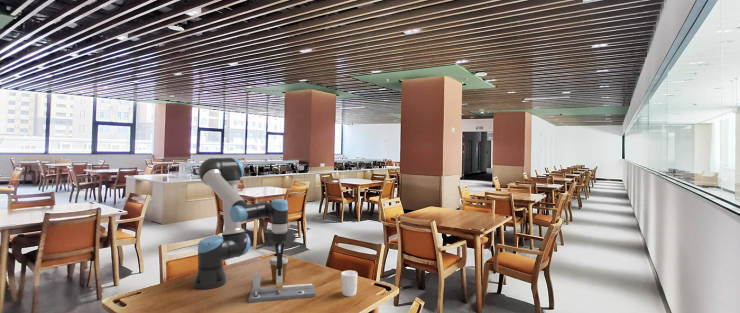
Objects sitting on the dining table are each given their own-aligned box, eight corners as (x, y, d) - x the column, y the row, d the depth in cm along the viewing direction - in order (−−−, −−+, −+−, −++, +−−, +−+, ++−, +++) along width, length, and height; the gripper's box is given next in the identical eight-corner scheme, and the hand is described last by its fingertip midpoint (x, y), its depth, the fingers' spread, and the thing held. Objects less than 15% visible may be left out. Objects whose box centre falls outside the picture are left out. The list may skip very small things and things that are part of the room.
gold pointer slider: (275, 293, 166) (276, 265, 166) (276, 287, 173) (276, 260, 173) (282, 293, 167) (282, 265, 167) (282, 287, 174) (282, 260, 174)
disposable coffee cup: (290, 278, 192) (290, 256, 192) (284, 285, 182) (284, 261, 182) (273, 277, 193) (273, 255, 193) (266, 284, 183) (266, 261, 183)
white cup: (344, 298, 167) (345, 276, 167) (338, 292, 174) (338, 271, 174) (360, 295, 170) (360, 274, 170) (353, 289, 177) (353, 269, 177)
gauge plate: (248, 302, 161) (248, 280, 161) (250, 292, 173) (250, 271, 173) (315, 296, 168) (315, 275, 168) (313, 287, 180) (313, 267, 180)
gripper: (287, 235, 165) (287, 286, 165) (287, 228, 181) (287, 274, 181) (271, 236, 163) (270, 287, 163) (272, 228, 179) (271, 275, 179)
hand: (279, 280), depth 172 cm, fingers closed on gold pointer slider, 3 cm apart
